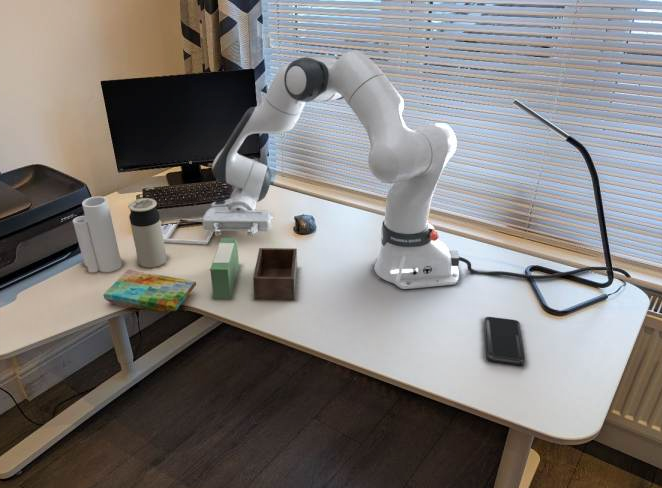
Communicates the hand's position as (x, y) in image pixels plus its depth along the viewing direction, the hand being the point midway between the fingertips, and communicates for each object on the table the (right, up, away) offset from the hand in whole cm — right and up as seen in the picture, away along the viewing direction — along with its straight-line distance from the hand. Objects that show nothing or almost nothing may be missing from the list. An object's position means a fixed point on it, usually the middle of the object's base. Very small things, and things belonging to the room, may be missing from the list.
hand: (233, 233), depth 159 cm
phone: (+65, -28, -33) cm, 78 cm away
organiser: (+13, -14, -11) cm, 22 cm away
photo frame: (-17, +2, +14) cm, 22 cm away
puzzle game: (-19, -19, -16) cm, 31 cm away
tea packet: (-1, -10, -12) cm, 16 cm away
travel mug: (-23, -8, 0) cm, 25 cm away
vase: (-37, -9, -2) cm, 39 cm away
